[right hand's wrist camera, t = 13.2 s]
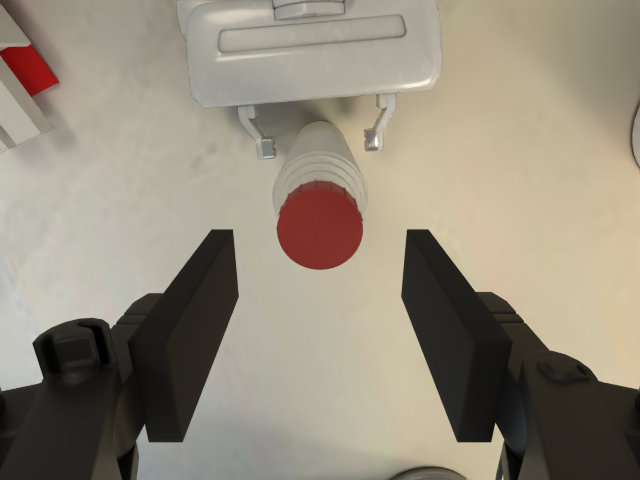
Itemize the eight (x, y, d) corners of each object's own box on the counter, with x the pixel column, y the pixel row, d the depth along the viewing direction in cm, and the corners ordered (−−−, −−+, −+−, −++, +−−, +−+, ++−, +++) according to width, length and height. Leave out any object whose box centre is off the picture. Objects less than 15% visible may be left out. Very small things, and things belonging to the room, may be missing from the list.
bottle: (314, 109, 40) (306, 142, 16) (356, 142, 41) (404, 215, 18) (283, 153, 41) (237, 240, 18) (325, 184, 42) (331, 301, 19)
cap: (310, 162, 18) (309, 169, 16) (377, 210, 19) (382, 222, 17) (264, 226, 19) (259, 239, 18) (328, 269, 20) (329, 285, 19)
